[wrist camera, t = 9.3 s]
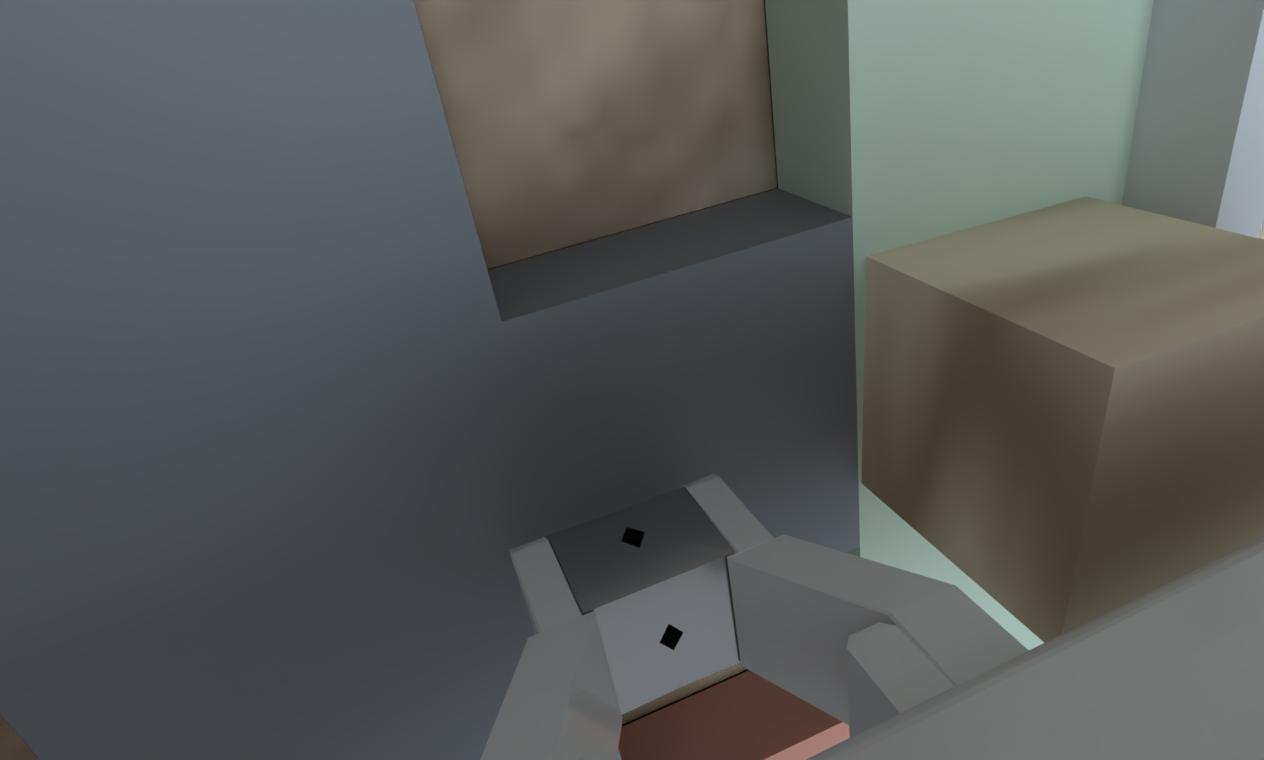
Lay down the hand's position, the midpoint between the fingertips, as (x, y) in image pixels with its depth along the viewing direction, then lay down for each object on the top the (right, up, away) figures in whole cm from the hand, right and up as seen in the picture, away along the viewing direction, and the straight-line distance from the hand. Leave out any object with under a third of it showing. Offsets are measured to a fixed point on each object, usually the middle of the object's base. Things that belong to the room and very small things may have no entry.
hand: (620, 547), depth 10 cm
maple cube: (+6, +3, +2) cm, 7 cm away
